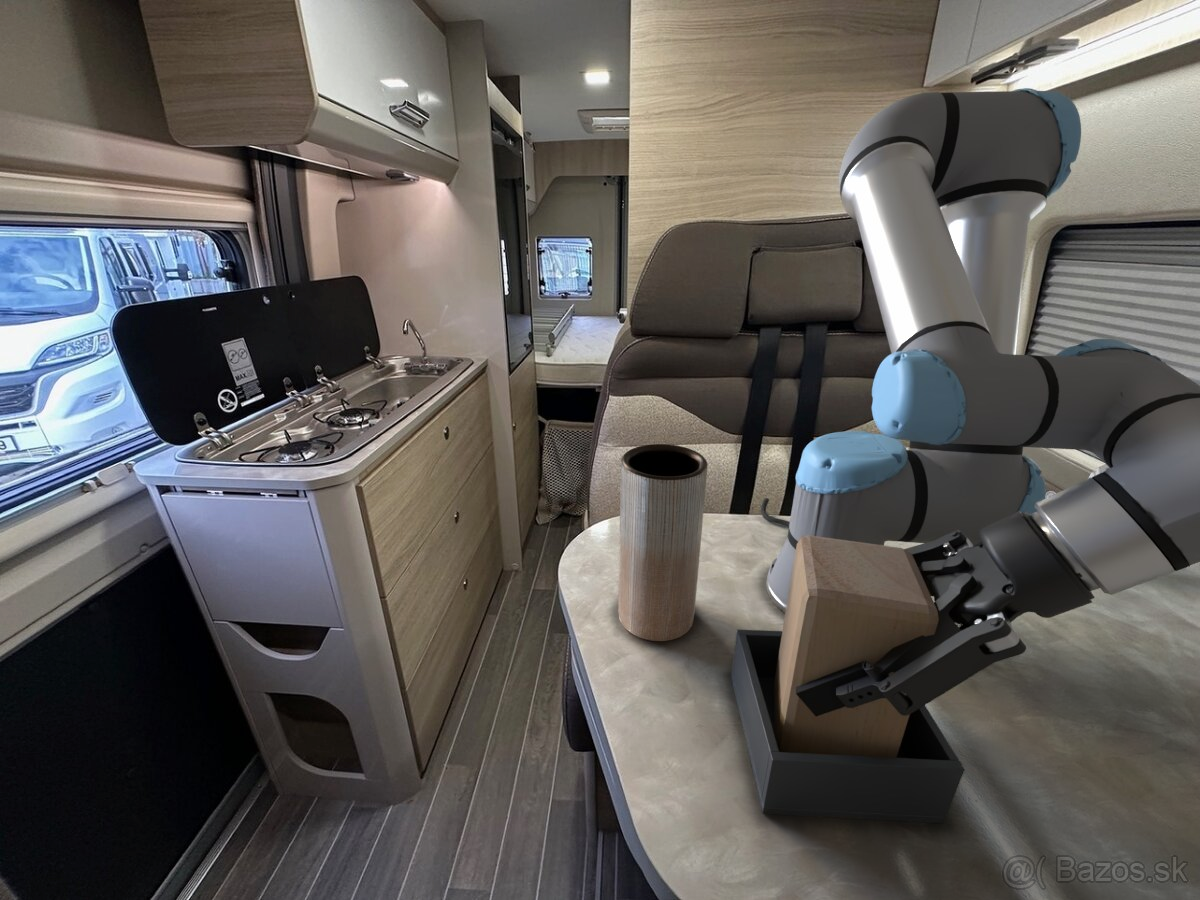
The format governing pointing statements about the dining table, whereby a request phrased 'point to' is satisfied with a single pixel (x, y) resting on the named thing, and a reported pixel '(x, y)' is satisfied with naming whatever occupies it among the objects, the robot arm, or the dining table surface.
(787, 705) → the wooden block
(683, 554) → the planter
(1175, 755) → the dining table surface
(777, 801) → the tote
